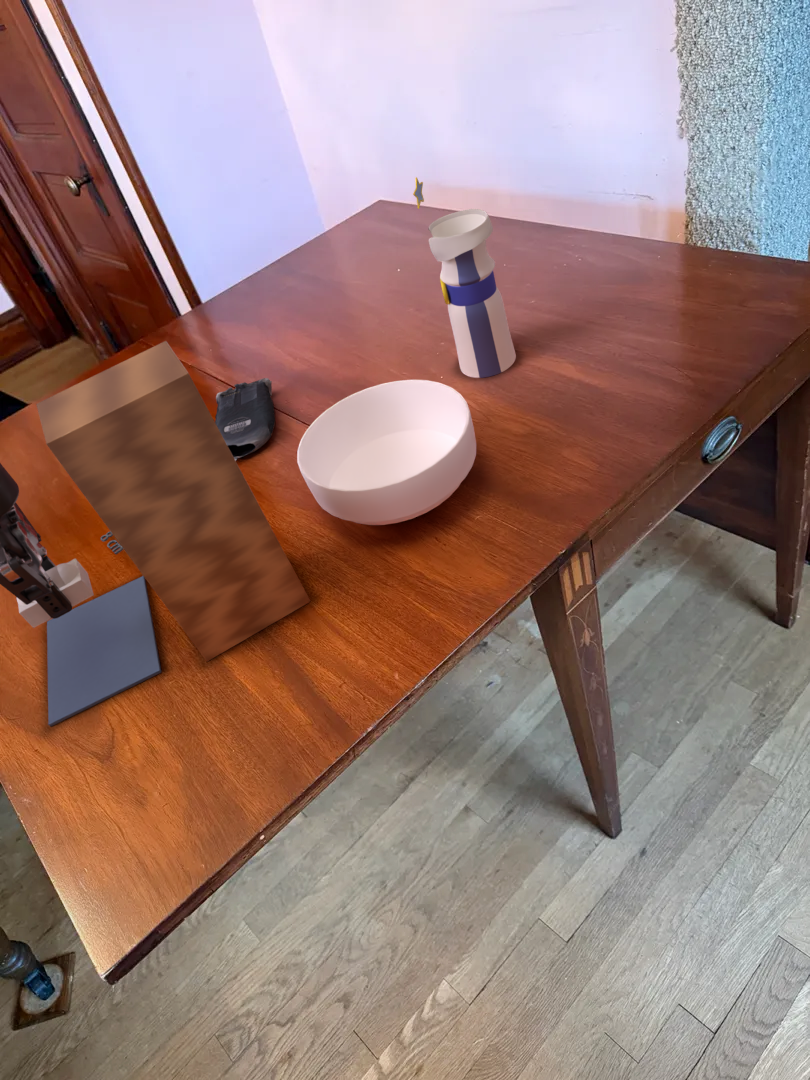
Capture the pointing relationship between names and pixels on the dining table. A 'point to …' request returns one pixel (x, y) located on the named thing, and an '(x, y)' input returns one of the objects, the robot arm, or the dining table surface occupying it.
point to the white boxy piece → (71, 584)
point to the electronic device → (246, 416)
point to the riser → (173, 497)
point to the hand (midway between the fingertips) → (60, 598)
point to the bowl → (389, 451)
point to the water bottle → (471, 291)
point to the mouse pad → (100, 650)
